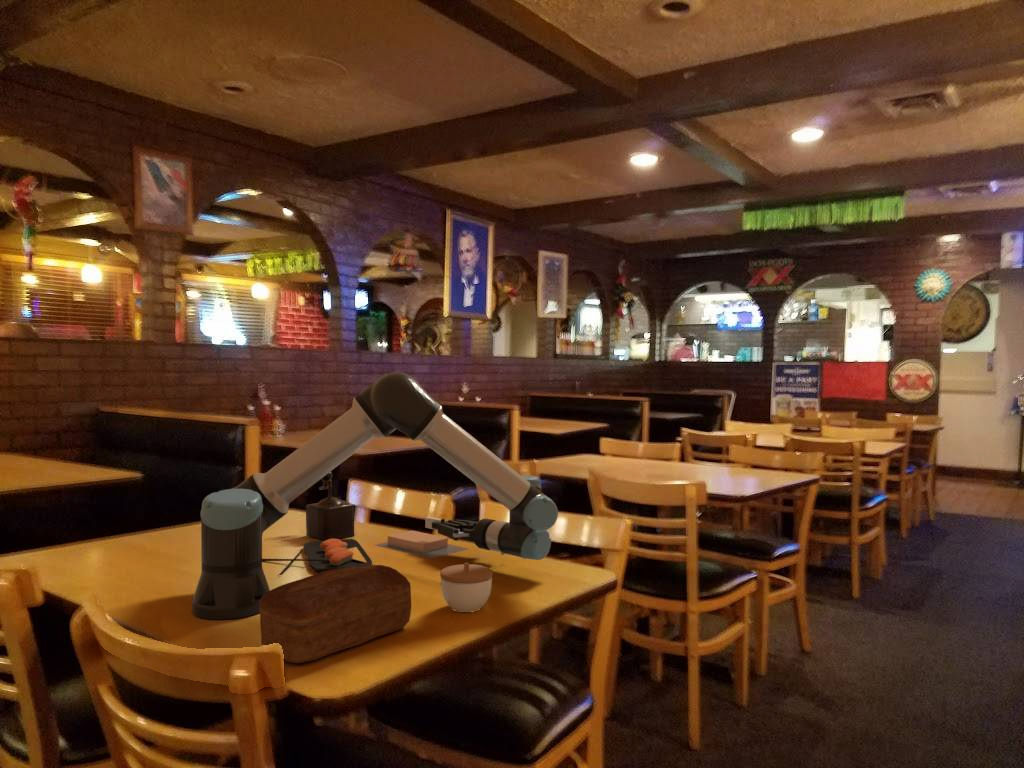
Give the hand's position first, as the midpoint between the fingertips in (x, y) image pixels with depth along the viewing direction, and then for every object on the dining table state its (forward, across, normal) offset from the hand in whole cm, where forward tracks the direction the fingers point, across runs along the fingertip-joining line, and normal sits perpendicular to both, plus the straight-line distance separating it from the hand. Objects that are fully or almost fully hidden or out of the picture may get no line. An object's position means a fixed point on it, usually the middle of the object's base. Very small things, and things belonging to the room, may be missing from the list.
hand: (427, 522), depth 198 cm
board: (+2, 0, -8) cm, 8 cm away
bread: (-34, -55, -8) cm, 65 cm away
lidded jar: (-39, -27, -8) cm, 48 cm away
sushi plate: (+17, -26, -9) cm, 33 cm away
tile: (-3, 0, -6) cm, 7 cm away
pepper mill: (+37, -5, -8) cm, 38 cm away
